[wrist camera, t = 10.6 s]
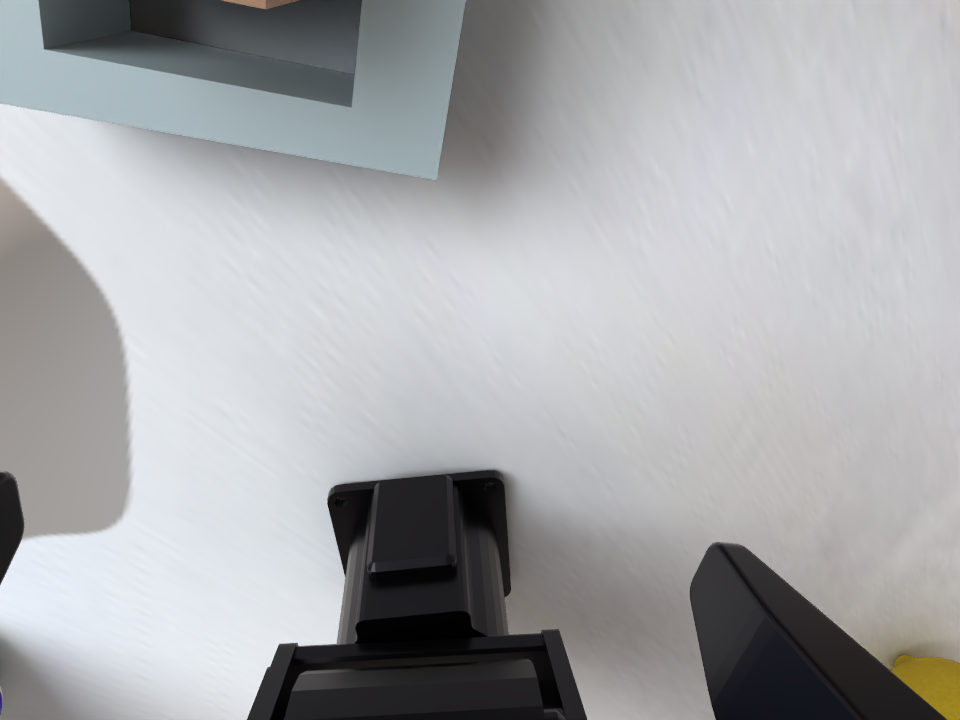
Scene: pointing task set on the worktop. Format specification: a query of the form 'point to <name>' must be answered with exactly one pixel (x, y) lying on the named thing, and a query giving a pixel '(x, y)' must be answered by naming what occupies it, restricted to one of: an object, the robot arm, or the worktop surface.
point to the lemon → (932, 682)
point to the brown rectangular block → (262, 3)
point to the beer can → (1, 700)
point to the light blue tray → (243, 82)
